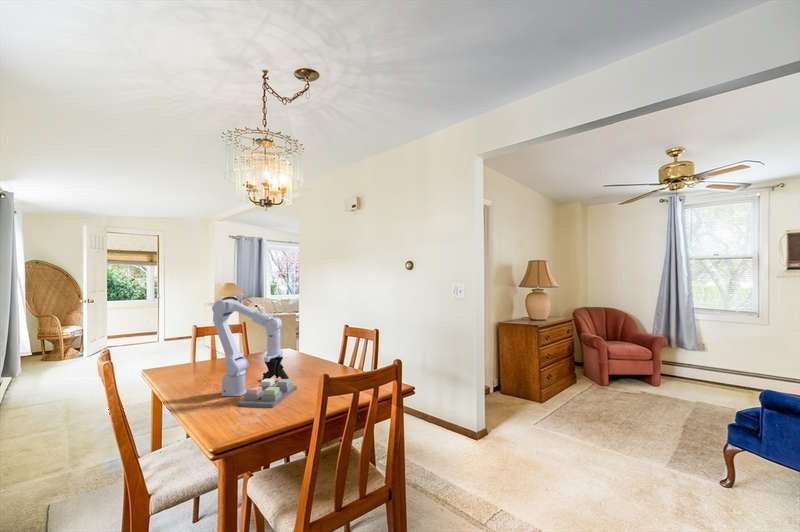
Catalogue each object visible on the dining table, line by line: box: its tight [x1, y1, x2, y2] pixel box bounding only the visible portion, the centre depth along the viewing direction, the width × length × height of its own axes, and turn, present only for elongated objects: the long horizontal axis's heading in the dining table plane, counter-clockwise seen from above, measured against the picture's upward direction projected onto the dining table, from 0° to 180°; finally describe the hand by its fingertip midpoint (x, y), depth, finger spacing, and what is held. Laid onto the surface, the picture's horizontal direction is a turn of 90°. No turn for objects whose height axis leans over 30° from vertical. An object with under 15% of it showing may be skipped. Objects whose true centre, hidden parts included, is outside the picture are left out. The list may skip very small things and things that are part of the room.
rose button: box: [246, 385, 262, 395], centre depth 160 cm, size 5×5×2 cm
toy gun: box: [262, 363, 289, 380], centre depth 191 cm, size 2×13×10 cm
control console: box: [238, 382, 298, 408], centre depth 165 cm, size 15×25×4 cm, turn 173°
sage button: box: [264, 387, 279, 395], centre depth 159 cm, size 5×5×2 cm
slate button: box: [276, 378, 292, 387], centre depth 171 cm, size 5×5×2 cm
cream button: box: [260, 378, 276, 386], centre depth 172 cm, size 5×5×2 cm
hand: (273, 374), depth 169 cm, fingers open, 3 cm apart
